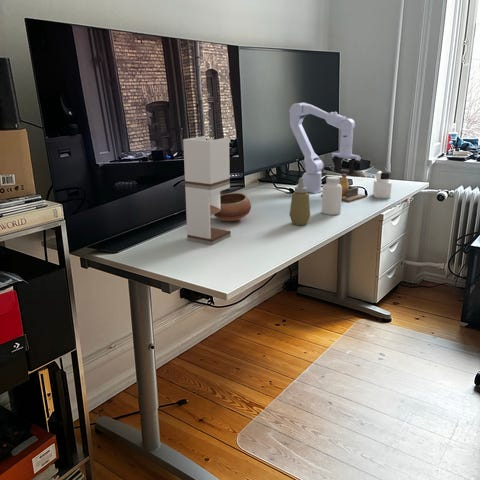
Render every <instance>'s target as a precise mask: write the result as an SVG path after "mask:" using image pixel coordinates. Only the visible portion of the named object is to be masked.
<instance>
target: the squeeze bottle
mask: <svg viewBox="0 0 480 480" xmlns="http://www.w3.org/2000/svg"><path fill="white" fill-rule="evenodd" d="M290 200H291V201H290V209H289V218H290V221H291V224H292V225H295V226H305V225H307V224H308V222H309V221H310V220H309V219H310V217H311V205H310V193H309V192H307V187H304V183H303V178H302V177H299V179H298V183H297V186H295V187H294V192H293V193H292V194H291V199H290Z"/></svg>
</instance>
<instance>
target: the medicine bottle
mask: <svg viewBox="0 0 480 480" xmlns="http://www.w3.org/2000/svg"><path fill="white" fill-rule="evenodd" d="M390 177H391V172H390V171H387V170H379V171H377V172H376V178H375V179H374V180H373V184H372V185H373V186H372V187H373V189H372V195H373V196H374V198H377V199H380V198H381V199H390V198H391V196H392V195H391V193H392V182H391V181H390Z"/></svg>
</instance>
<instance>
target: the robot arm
mask: <svg viewBox="0 0 480 480" xmlns="http://www.w3.org/2000/svg"><path fill="white" fill-rule="evenodd" d="M288 114H289V125H290V128H291V130H292V134H293V135H294V137H295V139H296V141H297V144H298V146H299V149H300V151H301V152H302V155H303V157H304V159H303V163H304V167H305V171H306V172H304V173H303V174H302V176H301V178H303V183H304V187H307V193H311V194H317V193H318V194H319V193H322V192H323V188H322V170H323V169H324V165H325V164H324V161H322V160H321V158H320V157H319V155H318V154H316V152H315V151H314V149H313V146H312V144H311V142H310V140H309V137H308V135H307V133H306V131H305V128H304V127H303V124H302V123H303V121H304V118H305V117H306V116H307V115H313V116H315V117H318V118H320V119H324V121H325V122H326V123H327V124H328V125H331V126H332V127H334V128H337V129H339V130H340V136H339V137H340V140H339V152H332V153H331V157H332V159H331V161H332V162H333V165H334V168H335V173H336V174H338V173H340V171H341V165H342V161H343V159H347V161H348V166H349V167H348V174H349V175H350V176H352V175H354V172H355V169H356V166H357V165H358V163H359V162H360V155H357V154H353V142H354V140H353V139H354V129H355V127H356V122H355V120H354V119H352V118H351V117H347V116H345V115H341V114H338V112H337V111H334V112H333V111H331V112H327V111H325V110H323V109H321V108H319V107H317V106H315V105H313V104H310V103H307V102H299V103H298V102H296V103H292V105H291V106H290V108H289V110H288Z"/></svg>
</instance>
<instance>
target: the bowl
mask: <svg viewBox="0 0 480 480" xmlns="http://www.w3.org/2000/svg"><path fill="white" fill-rule="evenodd" d="M220 209H221V210H220V211H219V212H217V213H215V214H213V215H212V216H214V217H215V218H216V219H218V220H220V221H223V222H225V221H226V222H236V221H239V220H241V219H244V217H246V216H248V214H249V213H250V212H251V209H252V204H251V201H250V199H249V197H248V196H247V195H246V194H245V193H243V192H229V193H224V194H223V193H222V194H220Z"/></svg>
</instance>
